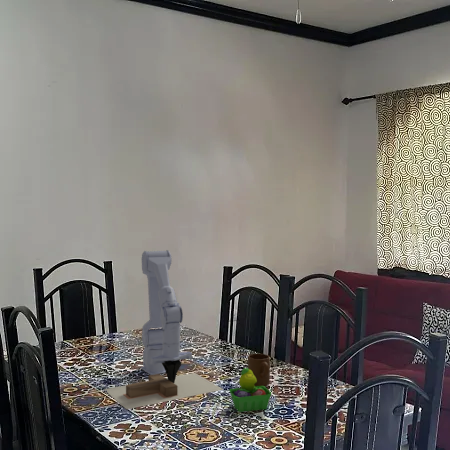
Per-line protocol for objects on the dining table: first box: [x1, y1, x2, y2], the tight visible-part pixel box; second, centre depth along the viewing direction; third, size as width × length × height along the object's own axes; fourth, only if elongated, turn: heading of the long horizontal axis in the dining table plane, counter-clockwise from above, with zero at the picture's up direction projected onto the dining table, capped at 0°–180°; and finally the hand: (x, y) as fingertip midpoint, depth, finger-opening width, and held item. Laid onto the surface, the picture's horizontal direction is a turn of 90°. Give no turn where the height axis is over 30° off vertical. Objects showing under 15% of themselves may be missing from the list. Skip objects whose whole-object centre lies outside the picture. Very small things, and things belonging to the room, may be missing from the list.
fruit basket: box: [229, 367, 272, 413], centre depth 173 cm, size 11×9×11 cm
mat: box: [103, 372, 224, 410], centre depth 188 cm, size 20×34×1 cm, turn 121°
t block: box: [125, 374, 178, 398], centre depth 185 cm, size 14×14×3 cm
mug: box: [247, 353, 271, 387], centre depth 192 cm, size 12×8×9 cm, turn 16°
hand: (171, 382), depth 189 cm, fingers closed
